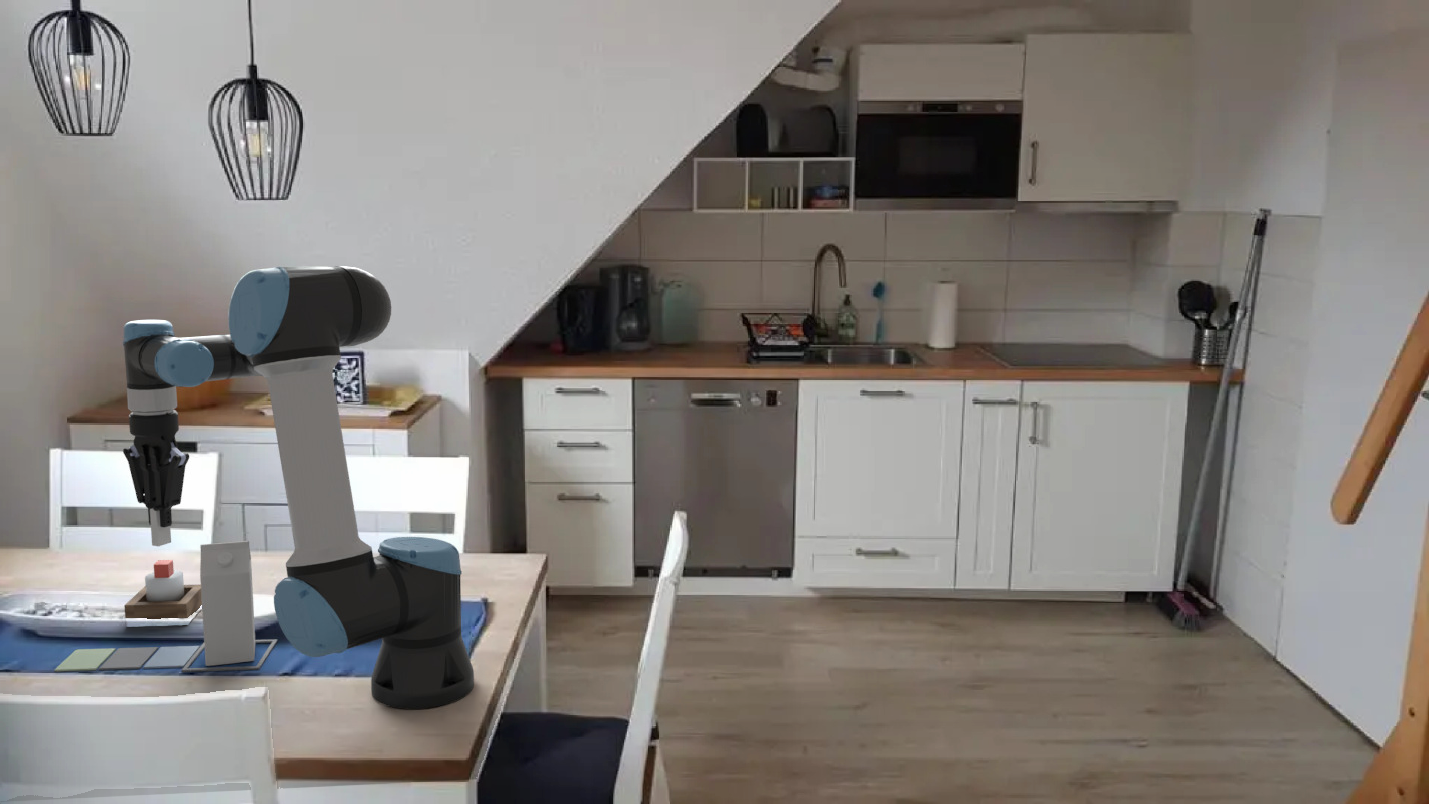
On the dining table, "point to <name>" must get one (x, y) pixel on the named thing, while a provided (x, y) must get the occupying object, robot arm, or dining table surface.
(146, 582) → the red white stacked block
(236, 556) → the milk carton
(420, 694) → the robot arm
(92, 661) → the track
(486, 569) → the dining table surface
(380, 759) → the dining table surface
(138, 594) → the wooden square tray
